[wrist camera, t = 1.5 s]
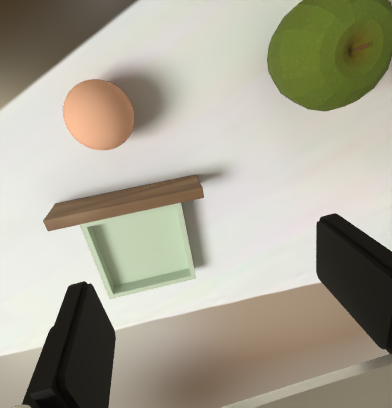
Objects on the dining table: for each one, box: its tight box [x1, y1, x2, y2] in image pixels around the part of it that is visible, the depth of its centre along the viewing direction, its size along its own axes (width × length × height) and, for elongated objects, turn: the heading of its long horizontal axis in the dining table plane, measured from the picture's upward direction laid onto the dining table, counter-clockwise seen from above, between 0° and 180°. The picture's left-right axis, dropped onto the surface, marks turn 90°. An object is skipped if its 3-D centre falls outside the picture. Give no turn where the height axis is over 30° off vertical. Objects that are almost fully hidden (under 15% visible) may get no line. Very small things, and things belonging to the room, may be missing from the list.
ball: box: [63, 79, 135, 150], centre depth 24 cm, size 6×6×6 cm
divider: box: [43, 175, 204, 231], centre depth 29 cm, size 1×16×4 cm, turn 99°
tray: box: [80, 203, 196, 299], centre depth 33 cm, size 11×11×2 cm
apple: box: [267, 0, 392, 111], centre depth 22 cm, size 9×8×12 cm
